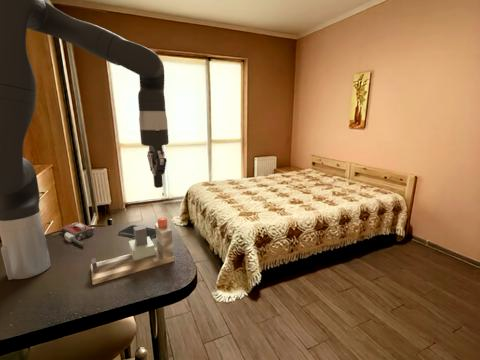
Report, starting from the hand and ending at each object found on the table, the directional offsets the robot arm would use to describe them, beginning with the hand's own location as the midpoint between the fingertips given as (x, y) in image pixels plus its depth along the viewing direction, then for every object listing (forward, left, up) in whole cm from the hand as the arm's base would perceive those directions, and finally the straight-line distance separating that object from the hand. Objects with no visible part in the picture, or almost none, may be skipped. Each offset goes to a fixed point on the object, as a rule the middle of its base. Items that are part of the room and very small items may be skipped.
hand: (158, 187), depth 77 cm
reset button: (0, 0, -13) cm, 13 cm away
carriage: (-7, 0, -20) cm, 21 cm away
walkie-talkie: (-23, +31, -24) cm, 45 cm away
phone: (-3, +22, -23) cm, 32 cm away
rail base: (-9, 0, -23) cm, 25 cm away
